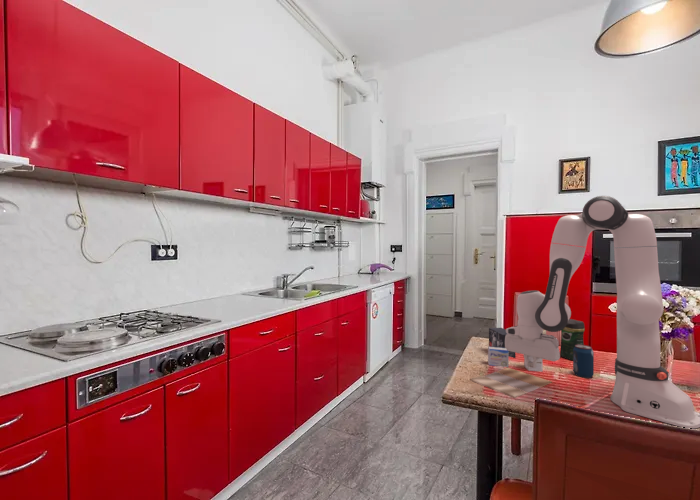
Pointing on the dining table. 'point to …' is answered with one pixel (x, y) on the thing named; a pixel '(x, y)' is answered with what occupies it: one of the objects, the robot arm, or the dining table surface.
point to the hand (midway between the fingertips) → (531, 366)
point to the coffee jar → (571, 337)
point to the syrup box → (538, 364)
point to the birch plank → (498, 386)
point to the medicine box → (498, 356)
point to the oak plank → (524, 377)
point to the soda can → (583, 361)
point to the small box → (498, 339)
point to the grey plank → (512, 382)
